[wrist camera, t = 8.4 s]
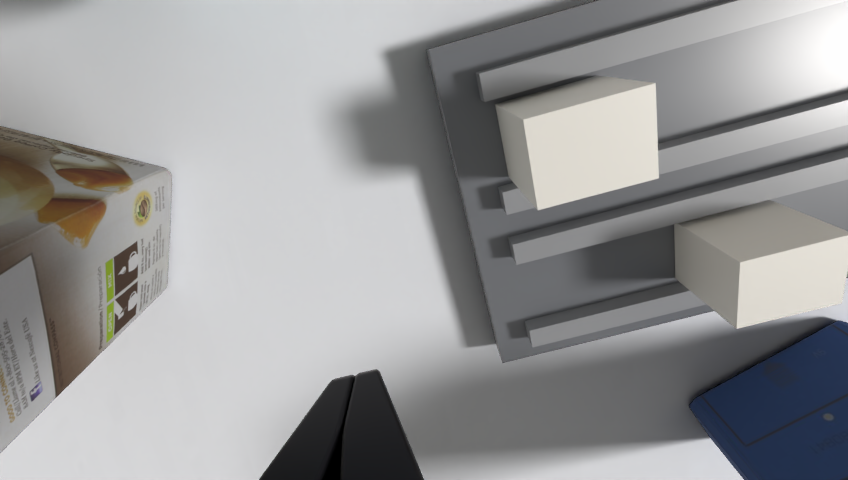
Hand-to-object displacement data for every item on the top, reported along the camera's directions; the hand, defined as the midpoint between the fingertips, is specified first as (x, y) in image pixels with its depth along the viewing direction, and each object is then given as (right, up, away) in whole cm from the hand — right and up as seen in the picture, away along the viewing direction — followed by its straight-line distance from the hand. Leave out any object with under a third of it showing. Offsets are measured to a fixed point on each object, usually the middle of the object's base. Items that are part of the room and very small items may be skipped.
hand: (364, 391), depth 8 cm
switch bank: (+12, +6, +12) cm, 18 cm away
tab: (+14, +3, +12) cm, 19 cm away
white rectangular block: (+6, +7, +9) cm, 13 cm away
